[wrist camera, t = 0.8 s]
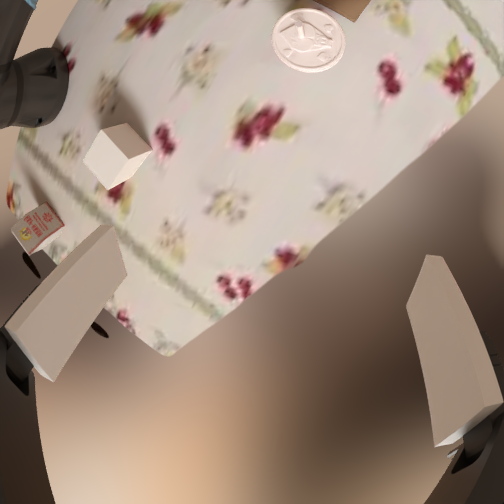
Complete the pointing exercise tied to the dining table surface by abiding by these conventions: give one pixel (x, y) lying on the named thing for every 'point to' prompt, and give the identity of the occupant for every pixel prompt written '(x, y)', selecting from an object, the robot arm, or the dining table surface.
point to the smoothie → (308, 40)
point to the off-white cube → (116, 154)
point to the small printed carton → (37, 228)
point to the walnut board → (346, 7)
